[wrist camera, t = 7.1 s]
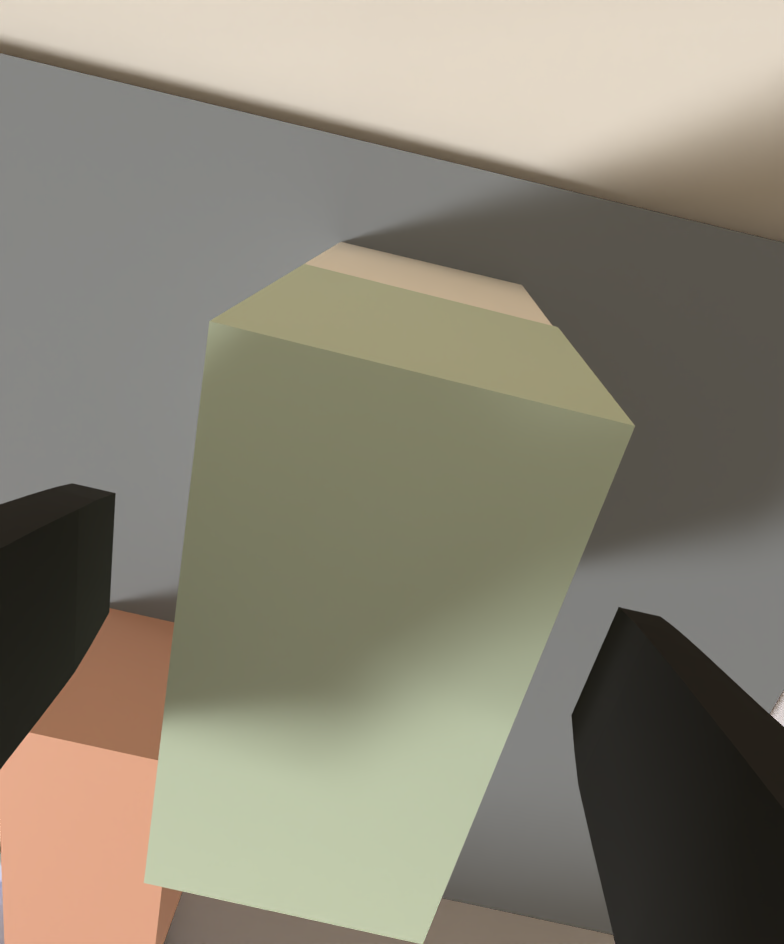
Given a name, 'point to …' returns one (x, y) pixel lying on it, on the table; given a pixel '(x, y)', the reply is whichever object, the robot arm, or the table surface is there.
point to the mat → (434, 241)
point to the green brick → (365, 590)
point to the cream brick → (431, 280)
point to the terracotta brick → (90, 799)
